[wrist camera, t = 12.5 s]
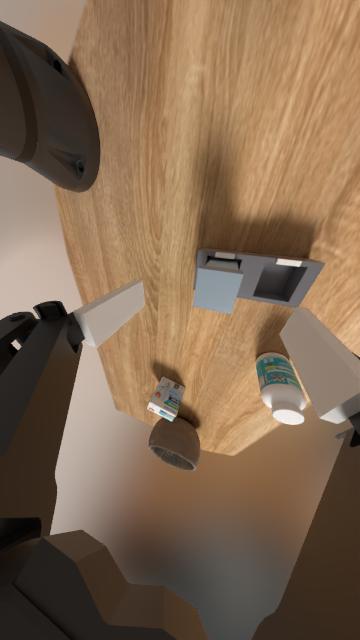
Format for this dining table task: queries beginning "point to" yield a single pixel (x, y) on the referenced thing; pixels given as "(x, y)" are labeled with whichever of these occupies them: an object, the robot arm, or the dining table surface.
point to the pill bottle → (280, 388)
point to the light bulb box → (166, 399)
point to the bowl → (176, 443)
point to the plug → (218, 285)
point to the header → (268, 275)
